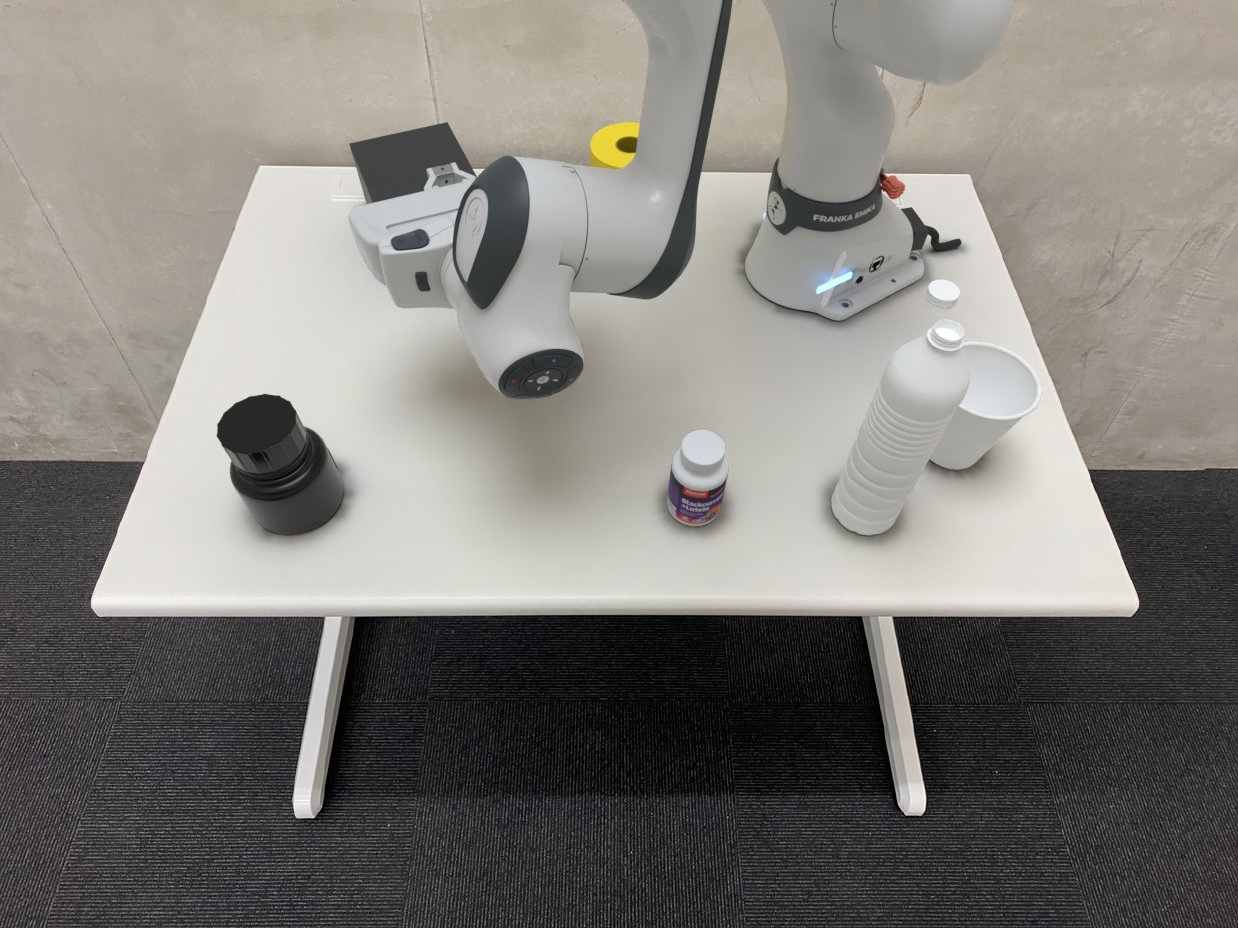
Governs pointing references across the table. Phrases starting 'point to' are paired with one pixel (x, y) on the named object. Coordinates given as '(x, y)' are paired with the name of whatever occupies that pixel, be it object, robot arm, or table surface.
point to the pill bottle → (698, 478)
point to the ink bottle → (279, 465)
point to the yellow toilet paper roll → (614, 145)
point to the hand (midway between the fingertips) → (441, 171)
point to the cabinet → (405, 160)
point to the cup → (987, 404)
